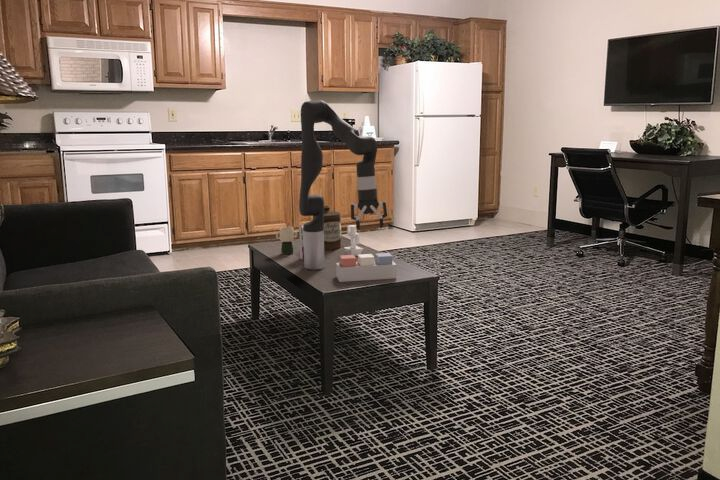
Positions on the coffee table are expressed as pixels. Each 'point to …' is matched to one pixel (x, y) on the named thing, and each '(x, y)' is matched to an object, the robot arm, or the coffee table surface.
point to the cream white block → (365, 259)
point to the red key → (347, 260)
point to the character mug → (286, 239)
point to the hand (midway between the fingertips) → (370, 229)
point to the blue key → (383, 258)
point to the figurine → (353, 241)
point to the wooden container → (331, 229)
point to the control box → (365, 272)
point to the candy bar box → (301, 242)
